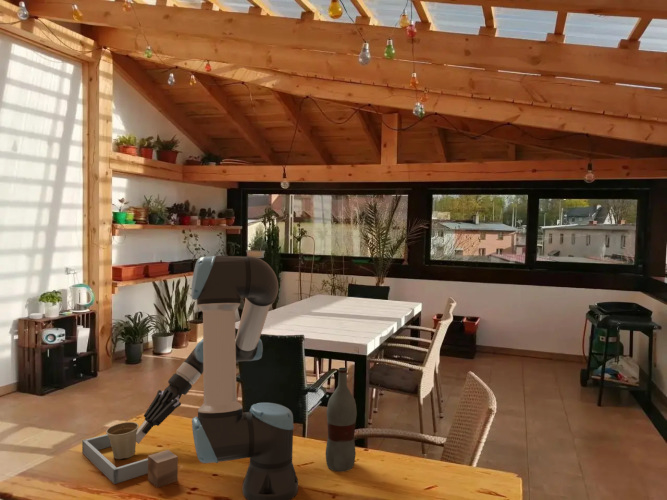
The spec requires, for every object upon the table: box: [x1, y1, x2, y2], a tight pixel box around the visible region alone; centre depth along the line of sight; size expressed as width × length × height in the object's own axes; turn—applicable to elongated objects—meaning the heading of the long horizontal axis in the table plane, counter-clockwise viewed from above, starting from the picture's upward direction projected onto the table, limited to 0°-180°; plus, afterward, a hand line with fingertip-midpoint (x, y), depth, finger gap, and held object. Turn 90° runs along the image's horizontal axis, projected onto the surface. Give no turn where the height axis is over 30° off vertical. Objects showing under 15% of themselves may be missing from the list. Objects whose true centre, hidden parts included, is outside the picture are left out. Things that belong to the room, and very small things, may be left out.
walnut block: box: [147, 449, 179, 488], centre depth 145 cm, size 6×6×7 cm
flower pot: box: [105, 421, 140, 460], centre depth 159 cm, size 9×9×9 cm
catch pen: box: [81, 433, 148, 485], centre depth 156 cm, size 26×14×4 cm, turn 44°
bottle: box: [325, 367, 358, 473], centre depth 156 cm, size 9×9×30 cm
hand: (134, 440), depth 163 cm, fingers closed
